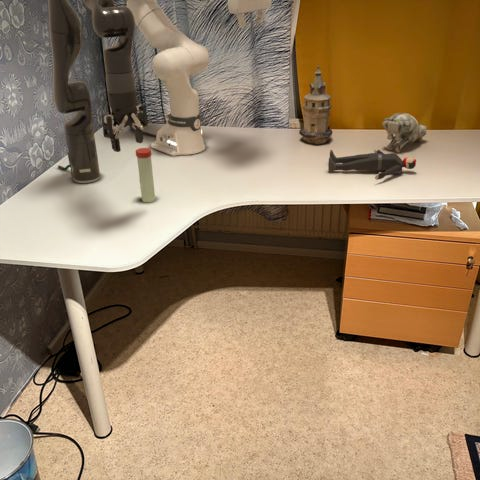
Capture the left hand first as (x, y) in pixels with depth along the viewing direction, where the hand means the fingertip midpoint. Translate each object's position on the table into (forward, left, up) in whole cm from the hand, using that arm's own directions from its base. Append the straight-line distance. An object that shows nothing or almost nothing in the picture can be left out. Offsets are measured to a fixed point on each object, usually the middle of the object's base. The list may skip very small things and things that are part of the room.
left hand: (128, 146), depth 150 cm
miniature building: (+8, +92, -23) cm, 95 cm away
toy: (+41, +75, -23) cm, 88 cm away
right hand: (+2, +55, +25) cm, 61 cm away
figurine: (+41, +105, -23) cm, 115 cm away
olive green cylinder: (-7, +11, -23) cm, 26 cm away
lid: (-7, +11, -6) cm, 15 cm away
